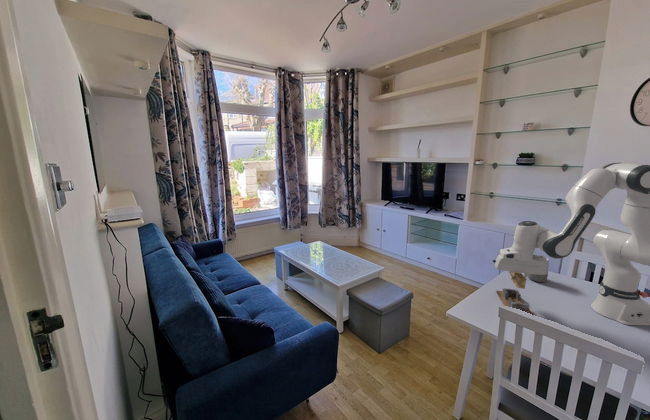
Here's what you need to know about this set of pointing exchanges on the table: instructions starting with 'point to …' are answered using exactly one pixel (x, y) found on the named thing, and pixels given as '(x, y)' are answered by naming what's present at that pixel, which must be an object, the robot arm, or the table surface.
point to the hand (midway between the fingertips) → (517, 279)
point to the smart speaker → (540, 277)
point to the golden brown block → (519, 280)
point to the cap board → (513, 299)
